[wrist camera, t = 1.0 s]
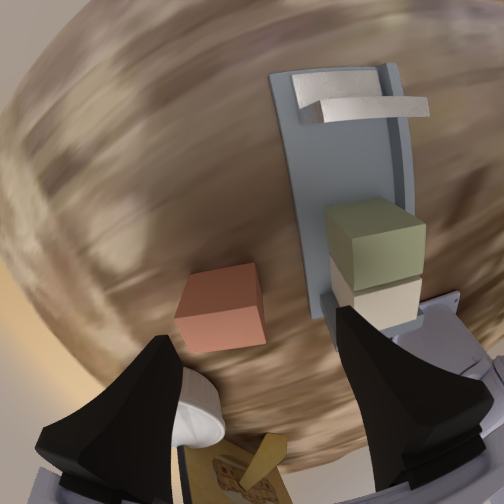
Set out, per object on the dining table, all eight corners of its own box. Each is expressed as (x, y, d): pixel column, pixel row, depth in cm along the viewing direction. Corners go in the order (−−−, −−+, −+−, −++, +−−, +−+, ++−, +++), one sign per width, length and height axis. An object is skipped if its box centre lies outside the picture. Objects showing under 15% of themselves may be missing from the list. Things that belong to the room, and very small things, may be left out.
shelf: (396, 291, 22) (428, 334, 16) (309, 312, 22) (325, 364, 17) (379, 69, 14) (427, 52, 9) (268, 77, 15) (277, 51, 9)
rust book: (262, 295, 22) (266, 343, 17) (201, 305, 22) (190, 353, 17) (254, 261, 20) (256, 305, 15) (190, 274, 21) (173, 318, 16)
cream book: (384, 277, 20) (416, 319, 15) (331, 289, 20) (353, 337, 15) (384, 242, 19) (422, 279, 14) (328, 254, 19) (354, 297, 14)
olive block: (384, 237, 18) (422, 273, 13) (328, 248, 19) (354, 291, 14) (382, 197, 17) (426, 223, 12) (323, 207, 18) (351, 238, 13)
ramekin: (248, 397, 27) (248, 437, 22) (179, 421, 30) (173, 455, 25) (173, 338, 24) (159, 381, 19) (111, 374, 26) (96, 408, 21)
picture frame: (173, 414, 29) (166, 520, 15) (231, 389, 28) (242, 513, 14) (269, 467, 37) (283, 537, 23) (315, 449, 36) (338, 522, 22)
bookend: (382, 117, 15) (430, 116, 10) (300, 125, 15) (324, 122, 10) (372, 72, 14) (417, 55, 9) (290, 77, 14) (309, 53, 9)
